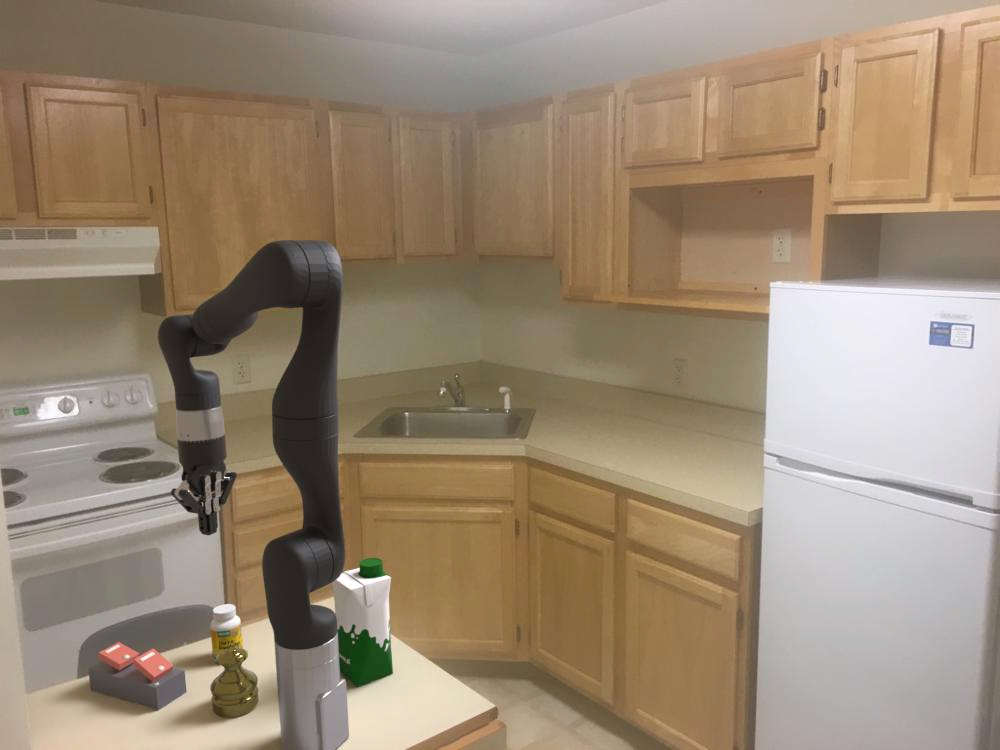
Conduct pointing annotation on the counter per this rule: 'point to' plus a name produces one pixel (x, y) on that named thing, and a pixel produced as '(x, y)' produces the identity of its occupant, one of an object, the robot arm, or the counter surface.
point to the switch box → (137, 685)
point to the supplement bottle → (225, 629)
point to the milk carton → (363, 622)
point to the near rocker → (152, 665)
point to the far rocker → (118, 656)
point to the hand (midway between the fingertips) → (209, 533)
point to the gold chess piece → (234, 685)
